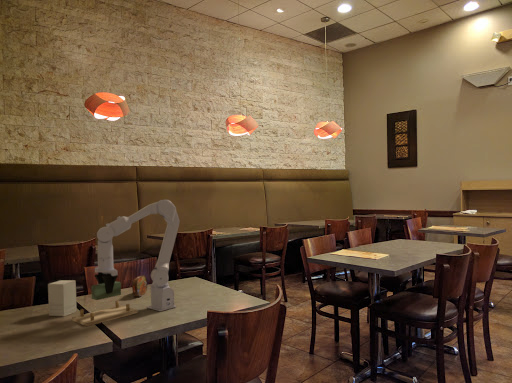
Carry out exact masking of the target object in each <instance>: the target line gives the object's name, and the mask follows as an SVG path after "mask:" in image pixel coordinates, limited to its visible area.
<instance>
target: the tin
mask: <svg viewBox="0 0 512 383" xmlns="http://www.w3.org/2000/svg"><path fill="white" fill-rule="evenodd" d="M131 287H132V288H131V289H132V295H133V297H134V298H136V297H137V298H139V297H142V296H143V295H144V294H146V293H147V290H148V280H147V276H146V275H139V276H137V277H135V278H134V279H133V280H132V283H131Z"/></svg>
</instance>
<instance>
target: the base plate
mask: <svg viewBox="0 0 512 383" xmlns="http://www.w3.org/2000/svg"><path fill="white" fill-rule="evenodd" d="M119 304H120V302H119V300H116V301H115V306H113V307H109V308H104V309H101V310H96V311H93V312H92V311H91V312H88V313H85V310H84V308H80V310H79V312H80V313H79V315H76V316H72V317H71V320H72V322H75V323H77V324H80V325H83V326H85V327H90V326H93V325H98V324H101V322H102V323H106V322H108V321H114V320H116V319H120V318H125V317H127V316H131V315H134V314H138V309H135V308H132V307H130V304H129V303H126V305H122V304H121V305H119ZM84 313H85V314H84Z"/></svg>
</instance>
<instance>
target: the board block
mask: <svg viewBox="0 0 512 383" xmlns="http://www.w3.org/2000/svg"><path fill="white" fill-rule="evenodd" d="M121 284H122V282H120V281H115V283H114V287H113V292H112V293H109V294H106V289H105V283H103V284H98V283H97V284H93V285H91V299H92V300H95V301H98V300H99V301H100V300H104V299H108V298H112V297H118V296H121V295H122V285H121Z"/></svg>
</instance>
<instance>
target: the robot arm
mask: <svg viewBox="0 0 512 383" xmlns="http://www.w3.org/2000/svg"><path fill="white" fill-rule="evenodd" d="M158 214H159V215H160V216H162V217H163V220H164V221H165V222H166V228H165V231H164V234H163V235H164V236H163V240H162V243H161V246H160V251H159V253H158V254H159V255H158V258H157V260H156V263H155V266H154V268H153V269H152V271H151V272H150V279H151V280H152V283H151V284H150V302H151V303H150V305H148V306H146V308H147V309H151V310H154V311H157V312H162V311H163V312H164V311H167V310H170V309H173V308H176V307H177V305H175V291H174V289H173V288H172V287H170V284H169V271H170V261H171V257H172V253H173V250H174V246H175V242H176V238H177V235H178V230H179V226H180V222H181V221H180V218H179V215H178V212H177V207H176V206H175V204H174V203H173V202H172V201H171V200H170V199H160V200H158V201H156V202H153V203H150V204H148V205H146V206H145V207H143V208H141V209H140V210H138V211H136V212H134V213H133V214H131V215H129V216H120V215H119V216H118V217H116V219H115V220H113V221H111V222H110V223H106V224H105V226H103V227H100V228H99V229H98V231H97V233H96V237H97V239H98V240H97V266H96V267H94V273H96V274H94V278H95V280H96V281H97V285H98V284H103V283H105V289H106V294H109V293H112V292H113V287H114V283H115V281H116V280H117V278H118V277H119V276H118V273H119V272H118V269H116V268H114V246H113V238H114V237H118V236H120V235H121V234H123V233H124V232H126V231H128V230H130V229H131V228H132V225H133V223H137V222H138V221H140V220H141V219H144V218H145V217H147V216H150V215H158Z"/></svg>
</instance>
